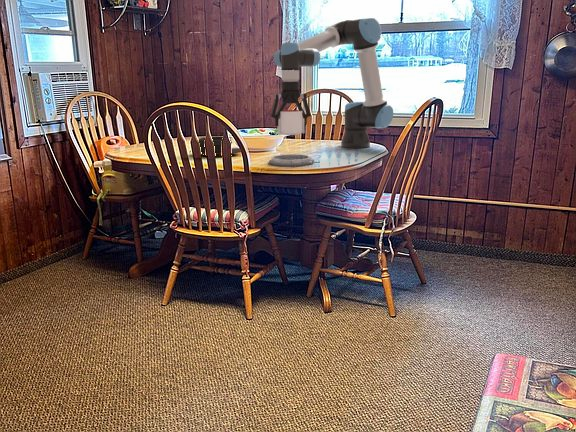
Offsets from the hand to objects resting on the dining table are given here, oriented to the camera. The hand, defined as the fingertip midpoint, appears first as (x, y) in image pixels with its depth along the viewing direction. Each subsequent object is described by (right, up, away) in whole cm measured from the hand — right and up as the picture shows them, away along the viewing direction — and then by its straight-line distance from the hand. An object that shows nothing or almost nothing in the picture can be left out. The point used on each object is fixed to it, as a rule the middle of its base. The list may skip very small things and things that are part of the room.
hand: (290, 133), depth 239 cm
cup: (0, 0, 0) cm, 0 cm away
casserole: (-37, -6, +29) cm, 47 cm away
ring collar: (0, -12, +3) cm, 13 cm away
